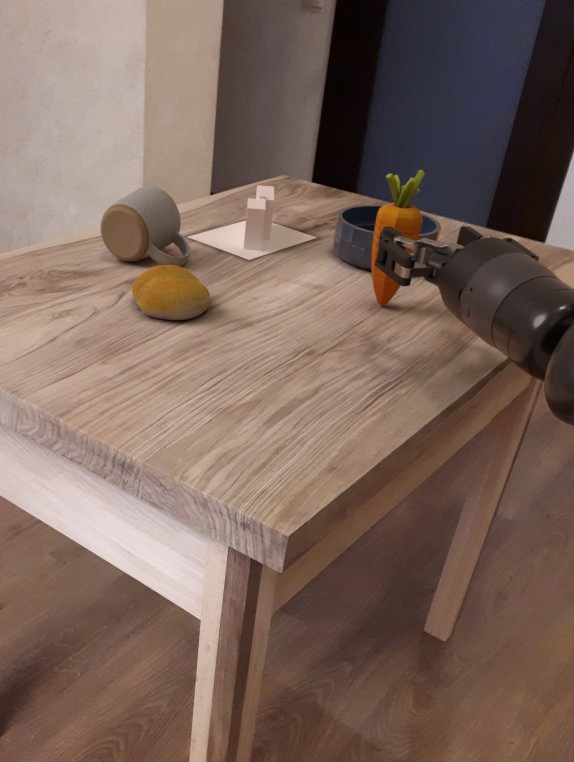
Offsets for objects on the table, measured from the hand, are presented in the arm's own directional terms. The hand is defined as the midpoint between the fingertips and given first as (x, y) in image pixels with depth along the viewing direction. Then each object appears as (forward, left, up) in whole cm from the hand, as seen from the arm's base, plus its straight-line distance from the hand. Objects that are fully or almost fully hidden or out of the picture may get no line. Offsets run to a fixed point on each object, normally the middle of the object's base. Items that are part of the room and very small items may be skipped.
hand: (423, 235), depth 81 cm
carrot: (-2, -6, -10) cm, 12 cm away
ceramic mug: (+16, -30, -10) cm, 35 cm away
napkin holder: (-1, -32, -10) cm, 33 cm away
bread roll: (+21, -15, -10) cm, 28 cm away
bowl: (-13, -19, -10) cm, 25 cm away
